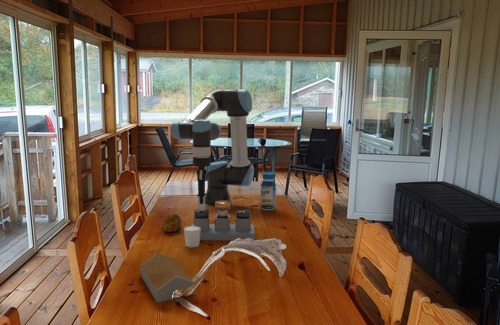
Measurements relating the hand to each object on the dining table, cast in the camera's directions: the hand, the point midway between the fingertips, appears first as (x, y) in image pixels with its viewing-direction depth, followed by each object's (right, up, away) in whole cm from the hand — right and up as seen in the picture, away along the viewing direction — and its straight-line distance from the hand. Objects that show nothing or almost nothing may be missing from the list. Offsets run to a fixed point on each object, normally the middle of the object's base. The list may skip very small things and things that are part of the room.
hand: (201, 210), depth 168 cm
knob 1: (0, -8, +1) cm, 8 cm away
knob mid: (+9, -4, +1) cm, 10 cm away
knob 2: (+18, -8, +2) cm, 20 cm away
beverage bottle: (+31, -5, +45) cm, 55 cm away
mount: (+9, -11, +2) cm, 14 cm away
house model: (-6, -19, -43) cm, 47 cm away
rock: (-14, -10, +9) cm, 20 cm away
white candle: (-3, -13, -9) cm, 16 cm away
